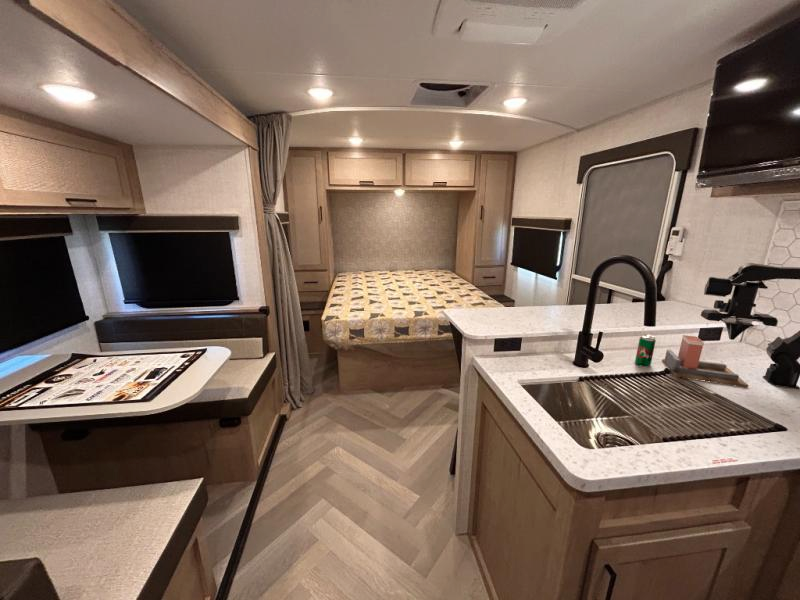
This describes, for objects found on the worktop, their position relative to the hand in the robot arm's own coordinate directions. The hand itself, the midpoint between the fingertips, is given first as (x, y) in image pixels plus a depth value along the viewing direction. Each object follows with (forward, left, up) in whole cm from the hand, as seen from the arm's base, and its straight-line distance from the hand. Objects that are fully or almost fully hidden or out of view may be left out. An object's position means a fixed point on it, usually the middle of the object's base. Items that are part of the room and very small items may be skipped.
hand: (731, 339), depth 116 cm
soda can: (+26, +4, -13) cm, 29 cm away
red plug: (+13, +5, -12) cm, 18 cm away
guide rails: (+9, +5, -12) cm, 16 cm away
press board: (+8, +5, -13) cm, 16 cm away
